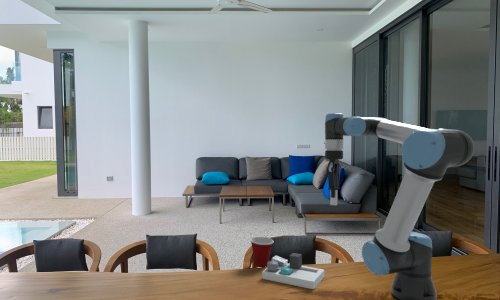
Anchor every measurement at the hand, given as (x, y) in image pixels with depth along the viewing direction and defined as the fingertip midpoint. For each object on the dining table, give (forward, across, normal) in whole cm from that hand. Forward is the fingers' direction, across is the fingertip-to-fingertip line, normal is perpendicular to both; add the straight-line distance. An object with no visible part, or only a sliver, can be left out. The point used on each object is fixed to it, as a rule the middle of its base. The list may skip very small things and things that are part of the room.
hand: (333, 204), depth 152 cm
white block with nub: (+25, +10, -21) cm, 34 cm away
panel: (+29, +13, -13) cm, 35 cm away
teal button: (+28, +17, -15) cm, 36 cm away
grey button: (+26, +17, -21) cm, 38 cm away
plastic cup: (+30, +7, -31) cm, 43 cm away
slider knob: (+26, +10, -13) cm, 31 cm away
